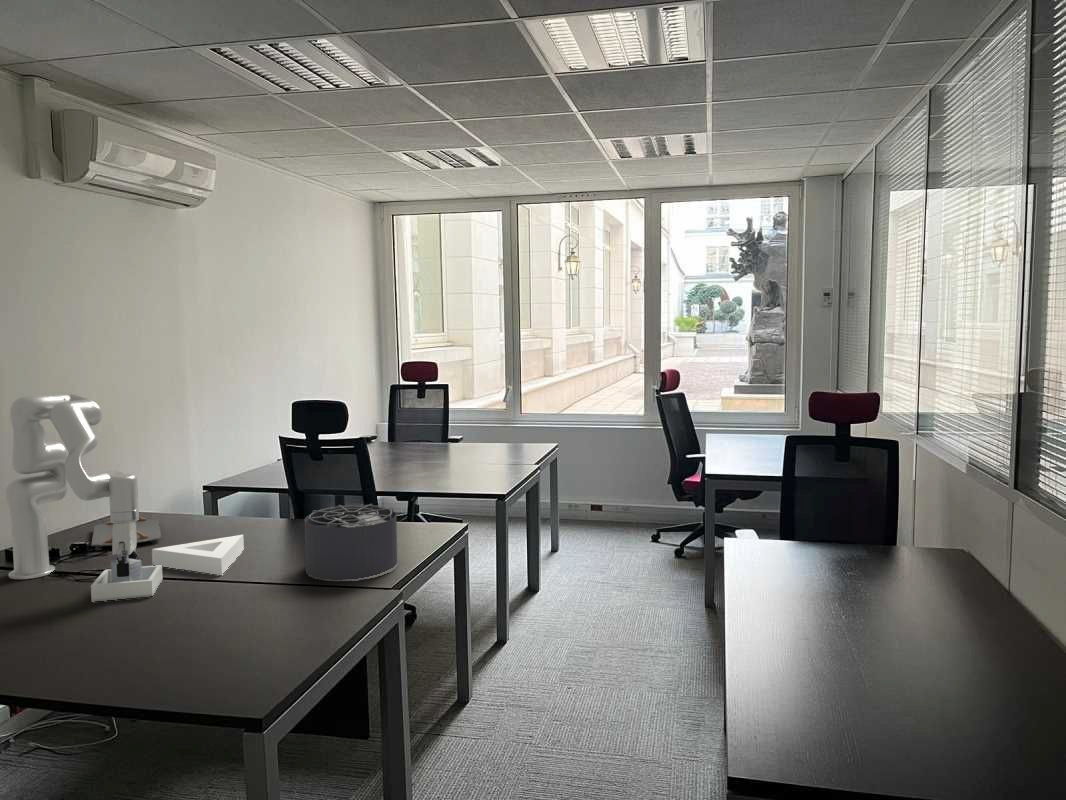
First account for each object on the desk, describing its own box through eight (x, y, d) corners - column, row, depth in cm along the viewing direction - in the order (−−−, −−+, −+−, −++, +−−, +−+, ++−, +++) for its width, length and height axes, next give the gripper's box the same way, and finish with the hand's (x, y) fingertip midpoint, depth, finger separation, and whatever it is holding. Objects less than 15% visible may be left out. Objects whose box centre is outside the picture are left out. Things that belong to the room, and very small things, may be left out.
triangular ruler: (152, 567, 255) (151, 549, 255) (211, 547, 279) (211, 530, 279) (222, 577, 244) (221, 558, 244) (277, 556, 268) (276, 538, 268)
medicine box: (143, 587, 230) (142, 559, 230) (130, 592, 226) (129, 563, 225) (124, 584, 233) (123, 557, 233) (111, 589, 229) (110, 561, 228)
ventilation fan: (412, 505, 261) (370, 526, 232) (413, 558, 263) (372, 585, 234) (333, 500, 269) (284, 520, 240) (335, 552, 271) (286, 578, 242)
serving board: (94, 530, 304) (93, 515, 304) (158, 523, 315) (158, 509, 315) (90, 555, 270) (89, 537, 270) (163, 546, 281) (162, 529, 281)
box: (105, 585, 235) (105, 569, 235) (162, 580, 240) (161, 564, 239) (91, 602, 220) (90, 585, 220) (152, 597, 225) (151, 580, 224)
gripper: (117, 510, 235) (120, 564, 237) (103, 523, 219) (105, 581, 220) (144, 508, 237) (146, 562, 239) (132, 521, 221) (134, 579, 222)
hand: (127, 571), depth 230 cm, fingers open, 9 cm apart
